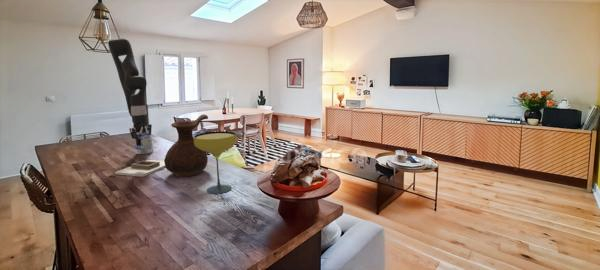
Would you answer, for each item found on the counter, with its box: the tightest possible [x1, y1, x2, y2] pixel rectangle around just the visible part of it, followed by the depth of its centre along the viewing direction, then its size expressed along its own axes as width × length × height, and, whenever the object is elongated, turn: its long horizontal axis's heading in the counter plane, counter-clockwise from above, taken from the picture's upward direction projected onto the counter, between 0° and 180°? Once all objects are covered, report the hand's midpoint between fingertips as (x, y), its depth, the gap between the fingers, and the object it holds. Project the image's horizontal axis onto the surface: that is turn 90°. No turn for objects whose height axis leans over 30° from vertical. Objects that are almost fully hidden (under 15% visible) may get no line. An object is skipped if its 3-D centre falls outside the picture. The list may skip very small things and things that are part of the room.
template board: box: [114, 159, 166, 177], centre depth 179 cm, size 24×18×3 cm
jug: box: [163, 114, 209, 178], centre depth 167 cm, size 22×22×30 cm
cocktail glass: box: [193, 130, 238, 195], centre depth 143 cm, size 18×18×25 cm
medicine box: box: [133, 133, 151, 150], centre depth 176 cm, size 8×4×9 cm, turn 62°
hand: (142, 144), depth 176 cm, fingers closed on medicine box, 5 cm apart
